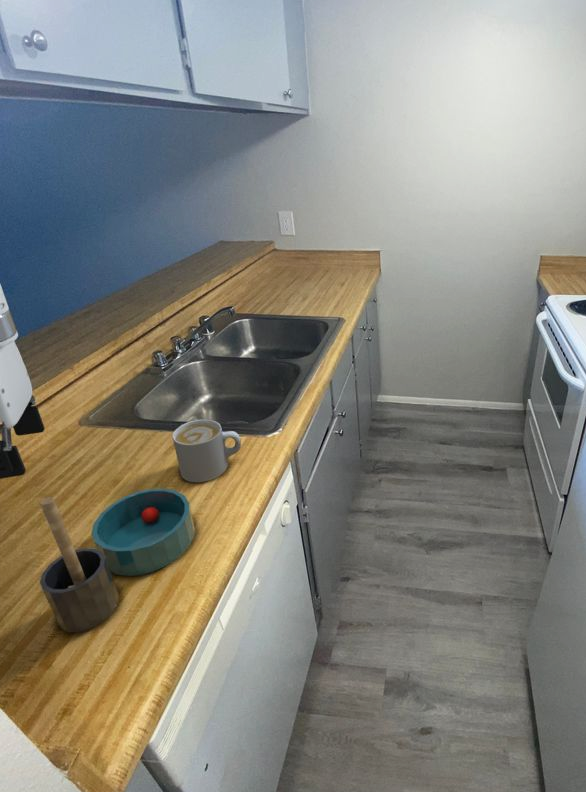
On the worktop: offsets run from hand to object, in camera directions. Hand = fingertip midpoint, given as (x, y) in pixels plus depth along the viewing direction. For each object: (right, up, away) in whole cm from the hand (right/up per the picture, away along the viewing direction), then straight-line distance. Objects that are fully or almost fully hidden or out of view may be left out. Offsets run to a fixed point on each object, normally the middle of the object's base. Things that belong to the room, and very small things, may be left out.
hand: (21, 453), depth 61 cm
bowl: (+2, -21, +27) cm, 34 cm away
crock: (-1, -27, +14) cm, 31 cm away
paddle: (-1, -27, +14) cm, 30 cm away
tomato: (0, -17, +30) cm, 34 cm away
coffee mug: (+6, -11, +47) cm, 48 cm away
